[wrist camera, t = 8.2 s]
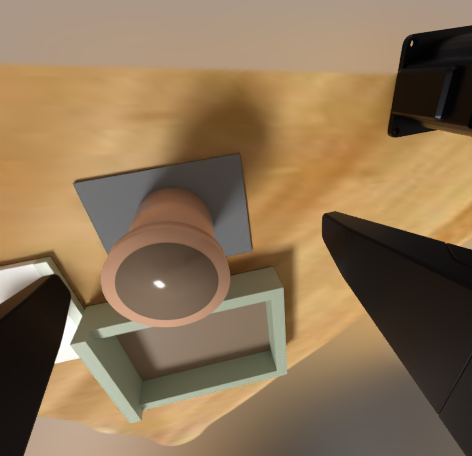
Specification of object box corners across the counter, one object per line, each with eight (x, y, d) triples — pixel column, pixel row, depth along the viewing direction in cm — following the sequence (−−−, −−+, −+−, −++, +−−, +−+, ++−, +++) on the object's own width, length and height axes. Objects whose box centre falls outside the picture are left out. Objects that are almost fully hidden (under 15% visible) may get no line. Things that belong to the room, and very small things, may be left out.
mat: (239, 153, 19) (240, 153, 19) (251, 250, 24) (251, 251, 23) (73, 182, 18) (72, 183, 18) (120, 277, 23) (119, 279, 23)
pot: (209, 173, 19) (220, 219, 13) (223, 248, 23) (237, 314, 16) (114, 189, 19) (76, 246, 12) (144, 264, 22) (126, 338, 16)
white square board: (50, 256, 21) (46, 261, 20) (108, 346, 27) (106, 352, 26) (-89, 284, 20) (-98, 290, 19) (4, 370, 26) (0, 377, 25)
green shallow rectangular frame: (273, 266, 25) (287, 295, 22) (279, 350, 32) (290, 382, 29) (86, 306, 24) (69, 344, 20) (136, 385, 31) (130, 423, 28)
